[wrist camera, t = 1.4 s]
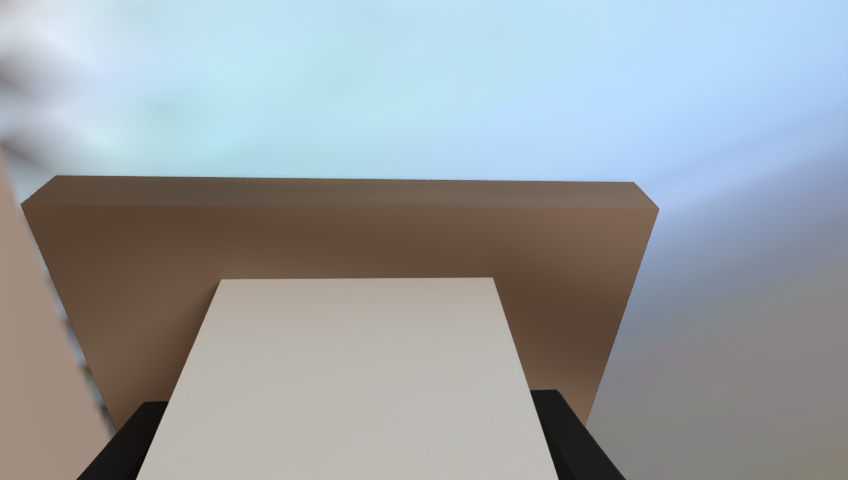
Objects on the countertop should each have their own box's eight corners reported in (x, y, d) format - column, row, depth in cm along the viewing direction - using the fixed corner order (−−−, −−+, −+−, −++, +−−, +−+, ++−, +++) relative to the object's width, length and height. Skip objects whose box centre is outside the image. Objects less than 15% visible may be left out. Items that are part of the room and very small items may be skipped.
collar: (467, 443, 14) (507, 673, 10) (256, 451, 13) (200, 699, 9) (492, 277, 11) (566, 507, 7) (221, 279, 10) (114, 531, 6)
